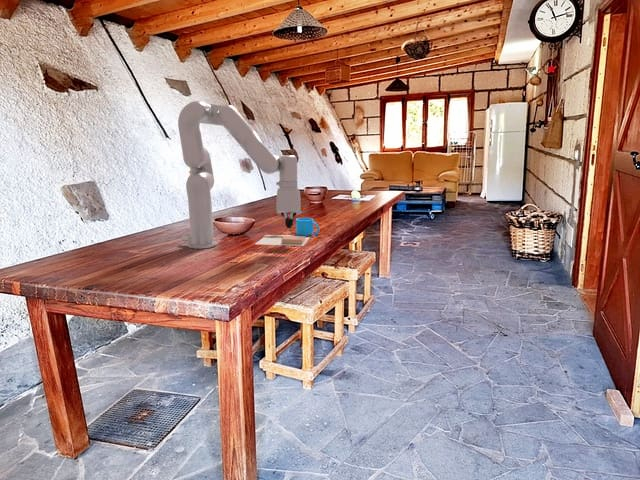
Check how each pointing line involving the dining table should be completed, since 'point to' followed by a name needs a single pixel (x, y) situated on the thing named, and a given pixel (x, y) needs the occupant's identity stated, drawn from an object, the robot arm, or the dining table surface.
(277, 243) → the board
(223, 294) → the dining table surface
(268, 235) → the turner
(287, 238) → the tile
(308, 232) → the mug
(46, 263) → the dining table surface
